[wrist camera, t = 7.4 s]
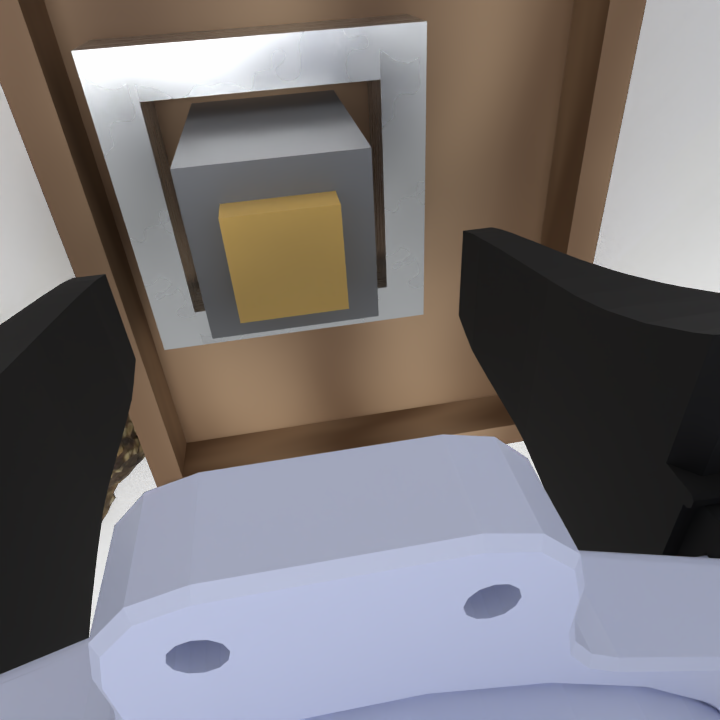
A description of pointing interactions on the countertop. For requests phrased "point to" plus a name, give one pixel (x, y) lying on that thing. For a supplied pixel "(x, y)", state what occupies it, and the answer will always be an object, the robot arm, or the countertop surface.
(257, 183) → the block
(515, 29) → the tray
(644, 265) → the countertop surface
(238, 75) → the socket
